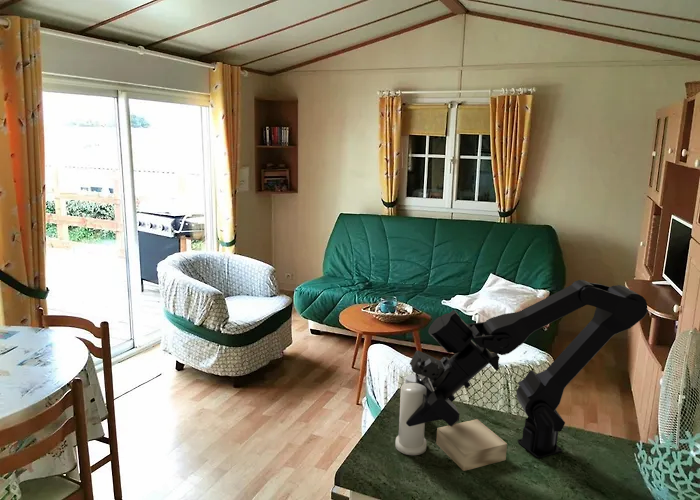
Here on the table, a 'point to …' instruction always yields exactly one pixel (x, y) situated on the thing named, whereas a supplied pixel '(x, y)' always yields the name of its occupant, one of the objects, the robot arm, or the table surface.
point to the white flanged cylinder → (410, 401)
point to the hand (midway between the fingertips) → (405, 417)
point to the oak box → (471, 444)
